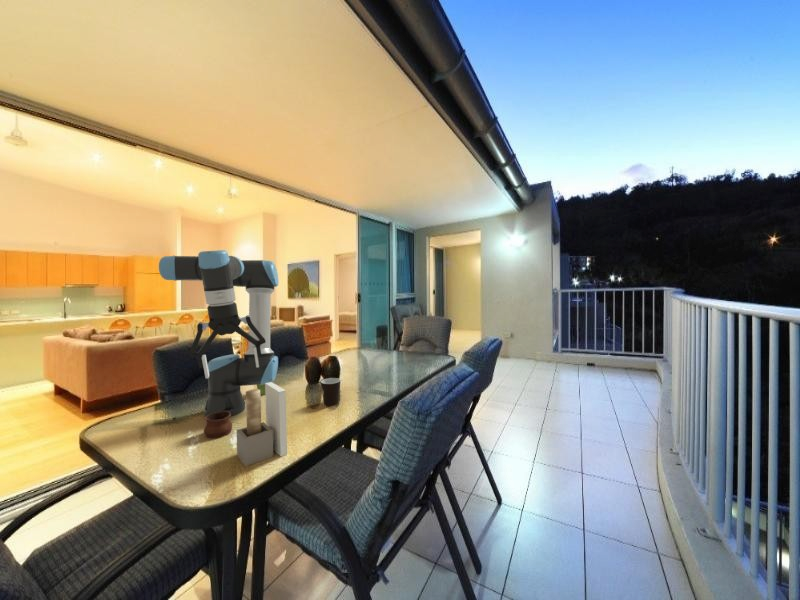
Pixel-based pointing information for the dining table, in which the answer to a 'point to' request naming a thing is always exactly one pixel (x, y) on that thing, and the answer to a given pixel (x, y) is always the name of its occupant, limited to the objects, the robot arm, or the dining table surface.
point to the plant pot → (261, 389)
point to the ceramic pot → (218, 424)
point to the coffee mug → (330, 391)
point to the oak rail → (253, 412)
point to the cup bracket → (266, 430)
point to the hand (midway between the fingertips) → (233, 371)
